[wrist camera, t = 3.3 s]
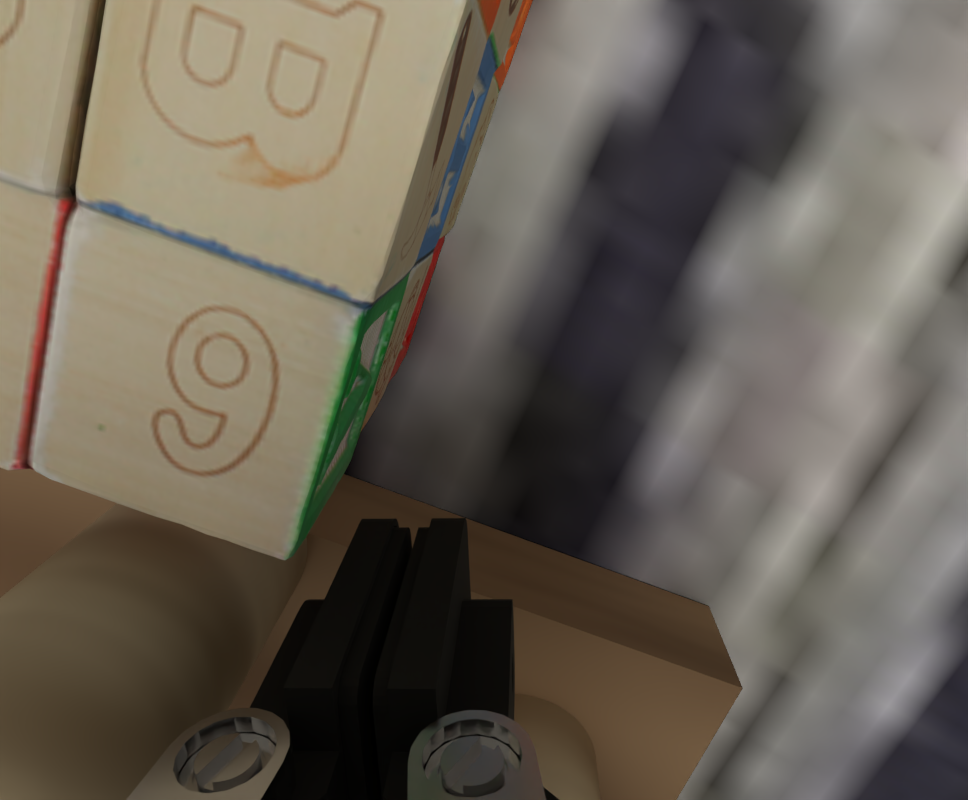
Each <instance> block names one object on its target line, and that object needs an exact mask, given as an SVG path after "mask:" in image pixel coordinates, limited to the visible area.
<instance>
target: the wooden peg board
mask: <svg viewBox="0 0 968 800" xmlns="http://www.w3.org/2000/svg"><path fill="white" fill-rule="evenodd" d="M116 504H117V503H115V502H112V501H110V500H107V499H104V498H101V497H98V496H96V495H93V494H90V493H87V492H84V491H82V490H79V489H76V488H73V487H70V486H68V485H65V484H62V483H59V482H57V481H54V480H51V479H49V478H47V477H45V476H43V475H42V474H40V473H38V472H36V471H34V470H32V469H20V470H6V469H3V468H0V598H1V597H2V596H3V595H4V594H6V593H7V592H8V591H9V590H10V589H12V588H13V587H14V586H15V585H17V584H18V583H19V582H20V581H22V580H23V579H24V578H25V577H27V576H28V575H29V574H30V573H32V572H33V571H34V570H35V569H36V568H38V567H39V566H40V565H41V564H43V563H44V562H45V561H46V560H48V559H49V558H50V557H51V556H53V555H54V554H55V553H56V552H57V551H59V550H60V549H61V548H62V547H64V546H65V545H66V544H67V543H69V542H70V541H71V540H72V539H74V538H75V537H76V536H77V535H79V534H80V533H81V532H82V531H83V530H85V529H86V528H87V527H88V526H90V525H91V524H92V523H93V522H95V521H96V520H97V519H98V518H100V517H101V516H102V515H103V514H104V513H106V512H107V511H108V510H109V509H111V508H112V507H113V506H114V505H116ZM432 518H464V517H461V516H458V515H456V514H453V513H450V512H447V511H445V510H442V509H439V508H436V507H434V506H431V505H428V504H425V503H422V502H420V501H417V500H414V499H411V498H409V497H406V496H403V495H400V494H398V493H395V492H392V491H389V490H387V489H384V488H381V487H378V486H376V485H373V484H370V483H367V482H365V481H362V480H359V479H356V478H354V477H351V476H348V475H345V474H343V476H342V478H341V480H340V481H339V482H338V484H337V486H336V488H335V490H334V492H333V493H332V495H331V496H330V498H329V499H328V501H327V503H326V504H325V506H324V508H323V509H322V511H321V513H320V514H319V516H318V518H317V519H316V521H315V523H314V524H313V526H312V528H311V529H310V531H309V533H308V534H307V536H306V538H307V561H306V565H305V569H304V572H303V574H302V577H301V579H300V581H299V583H298V585H297V587H296V588H295V590H294V592H293V594H292V596H291V597H290V599H289V601H288V603H287V605H286V606H285V608H284V610H283V612H282V614H281V615H280V617H279V619H278V621H277V623H276V624H275V626H274V628H273V630H272V631H271V633H270V635H269V637H268V639H267V640H266V642H265V644H264V646H263V648H262V649H261V651H260V653H259V655H258V657H257V658H256V660H255V662H254V664H253V666H252V667H251V669H250V671H249V673H248V675H247V676H246V678H245V680H244V682H243V683H242V685H241V687H240V689H239V691H238V692H237V694H236V696H235V698H234V700H233V701H232V703H231V705H230V707H229V709H228V710H232V709H237V708H250V706H251V704H252V702H253V700H254V698H255V696H256V694H257V692H258V690H259V688H260V686H261V684H262V682H263V680H264V678H265V676H266V674H267V672H268V670H269V668H270V666H271V664H272V662H273V660H274V658H275V656H276V654H277V652H278V650H279V649H280V647H281V645H282V643H283V641H284V639H285V637H286V635H287V633H288V631H289V629H290V627H291V625H292V623H293V621H294V619H295V617H296V615H297V613H298V611H299V609H300V607H301V605H302V604H303V603H304V601H306V600H308V599H325V597H326V595H327V593H328V590H329V588H330V586H331V584H332V582H333V579H334V577H335V575H336V573H337V571H338V569H339V566H340V564H341V562H342V560H343V558H344V556H345V553H346V551H347V549H348V547H349V545H350V542H351V540H352V538H353V536H354V534H355V532H356V529H357V527H358V525H359V523H360V521H361V520H362V519H397V521H398V524H399V527H409V528H410V532H411V541H412V548H413V544H414V541H415V537H416V534H417V530H418V528H419V527H429V526H430V522H431V519H432ZM466 520H467V530H468V549H469V569H470V589H471V599H512V600H513V616H514V652H515V707H514V721H515V722H517V723H518V724H519V725H520V726H521V727H522V728H523V729H524V730H525V731H526V732H527V733H528V734H529V736H530V738H531V740H532V743H533V745H534V747H535V750H536V755H537V760H538V764H539V769H540V774H541V779H542V783H543V787H544V788H546V789H547V790H548V791H549V792H551V793H552V794H553V795H554V796H555V797H557V798H558V799H559V800H676V799H677V798H678V796H679V794H680V793H681V791H682V789H683V788H684V786H685V784H686V783H687V781H688V779H689V778H690V776H691V774H692V772H693V771H694V769H695V767H696V766H697V764H698V762H699V761H700V759H701V757H702V756H703V754H704V752H705V751H706V749H707V747H708V746H709V744H710V742H711V740H712V739H713V737H714V735H715V734H716V732H717V730H718V729H719V727H720V725H721V724H722V722H723V720H724V719H725V717H726V715H727V714H728V712H729V710H730V708H731V707H732V705H733V703H734V702H735V700H736V698H737V697H738V695H739V693H740V692H741V690H742V686H741V683H740V681H739V678H738V676H737V674H736V671H735V669H734V666H733V664H732V662H731V659H730V657H729V654H728V652H727V649H726V647H725V645H724V642H723V640H722V637H721V635H720V633H719V630H718V628H717V625H716V623H715V620H714V618H713V616H712V613H711V611H710V608H709V606H706V605H703V604H701V603H698V602H695V601H692V600H690V599H687V598H684V597H681V596H679V595H676V594H673V593H670V592H668V591H665V590H662V589H659V588H657V587H654V586H651V585H648V584H646V583H643V582H640V581H637V580H635V579H632V578H629V577H626V576H624V575H621V574H618V573H615V572H613V571H610V570H607V569H604V568H602V567H599V566H596V565H593V564H591V563H588V562H585V561H582V560H580V559H577V558H574V557H571V556H568V555H566V554H563V553H560V552H557V551H555V550H552V549H549V548H546V547H544V546H541V545H538V544H535V543H533V542H530V541H527V540H524V539H522V538H519V537H516V536H513V535H511V534H508V533H505V532H502V531H500V530H497V529H494V528H491V527H489V526H486V525H483V524H480V523H478V522H475V521H472V520H469V519H467V518H466ZM228 710H227V711H228Z"/></svg>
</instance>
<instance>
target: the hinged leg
mask: <svg viewBox="0 0 968 800" xmlns="http://www.w3.org/2000/svg"><path fill="white" fill-rule="evenodd" d="M306 561H307V538H305V539H304V541H303V542H302V544H301V545H300V547H299V548H298V550H297V551H296V552H295V554H294V555H293V557H291V558H289V559H287V560H282V559H279V558H276V557H273V556H270V555H267V554H264V553H261V552H257V551H254V550H251V549H248V548H246V547H243V546H240V545H238V544H235V543H232V542H229V541H227V540H224V539H221V538H217V537H214V536H210V535H207V534H204V533H202V532H199V531H197V530H194V529H192V528H189V527H187V526H184V525H182V524H179V523H175V522H172V521H169V520H165V519H162V518H159V517H155V516H152V515H149V514H147V513H144V512H141V511H138V510H135V509H132V508H130V507H127V506H124V505H121V504H118V503H117V504H116V505H114V506H113V507H112V508H111V509H109V510H108V511H107V512H106V513H104V514H103V515H102V516H101V517H100V518H98V519H97V520H96V521H95V522H93V523H92V524H91V525H90V526H88V527H87V528H86V529H85V530H83V531H82V532H81V533H80V534H79V535H77V536H76V537H75V538H74V539H72V540H71V541H70V542H69V543H67V544H66V545H65V546H64V547H62V548H61V549H60V550H59V551H57V552H56V553H55V554H54V555H53V556H51V557H50V558H49V559H48V560H46V561H45V562H44V563H43V564H41V565H40V566H39V567H38V568H36V569H35V570H34V571H33V572H32V573H30V574H29V575H28V576H27V577H25V578H24V579H23V580H22V581H20V582H19V583H18V584H17V585H15V586H14V587H13V588H12V589H10V590H9V591H8V592H7V593H6V594H4V595H3V596H2V597H1V598H0V800H126V799H127V798H128V797H129V796H130V794H131V793H132V792H133V791H134V789H135V788H136V787H137V786H138V784H139V783H140V782H141V781H142V779H143V778H144V777H145V776H146V774H147V773H148V772H149V771H150V769H151V768H152V767H153V766H154V764H155V763H156V762H157V761H158V759H159V758H160V757H161V756H162V754H163V753H164V752H165V751H166V749H167V748H168V747H169V746H170V744H171V743H172V742H173V741H174V740H175V739H176V738H178V737H179V736H180V735H181V734H182V733H183V732H184V731H185V730H186V729H188V728H189V727H191V726H193V725H194V724H196V723H197V722H199V721H200V720H202V719H205V718H207V717H209V716H212V715H214V714H217V713H219V712H223V711H227V710H228V709H229V707H230V705H231V703H232V701H233V700H234V698H235V696H236V694H237V692H238V691H239V689H240V687H241V685H242V683H243V682H244V680H245V678H246V676H247V675H248V673H249V671H250V669H251V667H252V666H253V664H254V662H255V660H256V658H257V657H258V655H259V653H260V651H261V649H262V648H263V646H264V644H265V642H266V640H267V639H268V637H269V635H270V633H271V631H272V630H273V628H274V626H275V624H276V623H277V621H278V619H279V617H280V615H281V614H282V612H283V610H284V608H285V606H286V605H287V603H288V601H289V599H290V597H291V596H292V594H293V592H294V590H295V588H296V587H297V585H298V583H299V581H300V579H301V577H302V574H303V572H304V569H305V565H306Z"/></svg>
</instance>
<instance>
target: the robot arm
mask: <svg viewBox="0 0 968 800" xmlns="http://www.w3.org/2000/svg"><path fill="white" fill-rule="evenodd" d="M514 707H515V652H514V616H513V600H512V599H471V589H470V569H469V549H468V530H467V520H466V518H432V519H431V522H430V526H429V527H419V528H418V530H417V534H416V537H415V541H414V544H413V548H412V541H411V532H410V528H409V527H399V524H398V521H397V519H362V520H361V521H360V523H359V525H358V527H357V529H356V532H355V534H354V536H353V538H352V540H351V542H350V545H349V547H348V549H347V551H346V553H345V556H344V558H343V560H342V562H341V564H340V566H339V569H338V571H337V573H336V575H335V577H334V579H333V582H332V584H331V586H330V588H329V590H328V593H327V595H326V597H325V599H308V600H306V601H304V603H303V604H302V605H301V607H300V609H299V611H298V613H297V615H296V617H295V619H294V621H293V623H292V625H291V627H290V629H289V631H288V633H287V635H286V637H285V639H284V641H283V643H282V645H281V647H280V649H279V650H278V652H277V654H276V656H275V658H274V660H273V662H272V664H271V666H270V668H269V670H268V672H267V674H266V676H265V678H264V680H263V682H262V684H261V686H260V688H259V690H258V692H257V694H256V696H255V698H254V700H253V702H252V704H251V706H250V708H237V709H232V710H228V711H223V712H219V713H217V714H214V715H212V716H209V717H207V718H205V719H202V720H200V721H199V722H197V723H196V724H194V725H193V726H191V727H189V728H188V729H186V730H185V731H184V732H183V733H182V734H181V735H180V736H179V737H178V738H176V739H175V740H174V741H173V742H172V743H171V744H170V746H169V747H168V748H167V749H166V751H165V752H164V753H163V754H162V756H161V757H160V758H159V759H158V761H157V762H156V763H155V764H154V766H153V767H152V768H151V769H150V771H149V772H148V773H147V774H146V776H145V777H144V778H143V779H142V781H141V782H140V783H139V784H138V786H137V787H136V788H135V789H134V791H133V792H132V793H131V794H130V796H129V797H128V798H127V799H126V800H559V799H558V798H557V797H555V796H554V795H553V794H552V793H551V792H549V791H548V790H547V789H546V788H544V787H543V783H542V779H541V774H540V769H539V764H538V760H537V755H536V750H535V747H534V745H533V743H532V740H531V738H530V736H529V734H528V733H527V732H526V731H525V730H524V729H523V728H522V727H521V726H520V725H519V724H518V723H517V722H515V721H514Z"/></svg>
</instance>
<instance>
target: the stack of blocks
mask: <svg viewBox="0 0 968 800" xmlns="http://www.w3.org/2000/svg"><path fill="white" fill-rule="evenodd" d="M532 1H533V0H0V468H3V469H6V470H20V469H32V470H34V471H36V472H38V473H40V474H42V475H43V476H45V477H47V478H49V479H51V480H54V481H57V482H59V483H62V484H65V485H68V486H70V487H73V488H76V489H79V490H82V491H84V492H87V493H90V494H93V495H96V496H98V497H101V498H104V499H107V500H110V501H112V502H115V503H118V504H121V505H124V506H127V507H130V508H132V509H135V510H138V511H141V512H144V513H147V514H149V515H152V516H155V517H159V518H162V519H165V520H169V521H172V522H175V523H179V524H182V525H184V526H187V527H189V528H192V529H194V530H197V531H199V532H202V533H204V534H207V535H210V536H214V537H217V538H221V539H224V540H227V541H229V542H232V543H235V544H238V545H240V546H243V547H246V548H248V549H251V550H254V551H257V552H261V553H264V554H267V555H270V556H273V557H276V558H279V559H282V560H287V559H289V558H291V557H293V555H294V554H295V552H296V551H297V550H298V548H299V547H300V545H301V544H302V542H303V541H304V539H305V538H306V536H307V534H308V533H309V531H310V529H311V528H312V526H313V524H314V523H315V521H316V519H317V518H318V516H319V514H320V513H321V511H322V509H323V508H324V506H325V504H326V503H327V501H328V499H329V498H330V496H331V495H332V493H333V492H334V490H335V488H336V486H337V484H338V482H339V481H340V480H341V478H342V476H343V474H344V472H345V471H346V469H347V467H348V465H349V463H350V461H351V459H352V456H353V453H354V450H355V447H356V444H357V441H358V438H359V435H360V432H361V431H362V429H363V428H364V426H365V425H366V423H367V422H368V420H369V418H370V417H371V415H372V414H373V412H374V411H375V409H376V407H377V405H378V404H379V402H380V400H381V398H382V396H383V394H384V392H385V390H386V387H387V385H388V383H389V381H390V380H391V379H392V378H393V377H394V376H395V374H396V372H397V370H398V368H399V367H400V364H401V362H402V361H403V359H404V358H405V356H406V353H407V350H408V348H409V345H410V342H411V338H412V335H413V332H414V329H415V326H416V323H417V320H418V317H419V314H420V311H421V308H422V305H423V302H424V299H425V296H426V293H427V290H428V287H429V284H430V281H431V278H432V275H433V272H434V269H435V266H436V264H437V260H438V257H439V254H440V251H441V248H442V246H443V243H444V238H445V235H446V234H447V233H448V232H449V231H450V230H451V229H452V228H453V226H454V223H455V220H456V217H457V215H458V212H459V209H460V206H461V203H462V200H463V197H464V195H465V192H466V189H467V186H468V183H469V180H470V177H471V175H472V172H473V169H474V166H475V163H476V160H477V157H478V154H479V151H480V149H481V146H482V143H483V140H484V137H485V134H486V131H487V128H488V125H489V122H490V120H491V117H492V114H493V111H494V108H495V105H496V102H497V98H498V94H499V91H500V89H501V87H502V85H503V83H504V80H505V77H506V75H507V72H508V69H509V67H510V64H511V61H512V58H513V55H514V52H515V49H516V47H517V44H518V41H519V38H520V35H521V32H522V29H523V26H524V24H525V21H526V18H527V15H528V12H529V9H530V6H531V4H532Z"/></svg>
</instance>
